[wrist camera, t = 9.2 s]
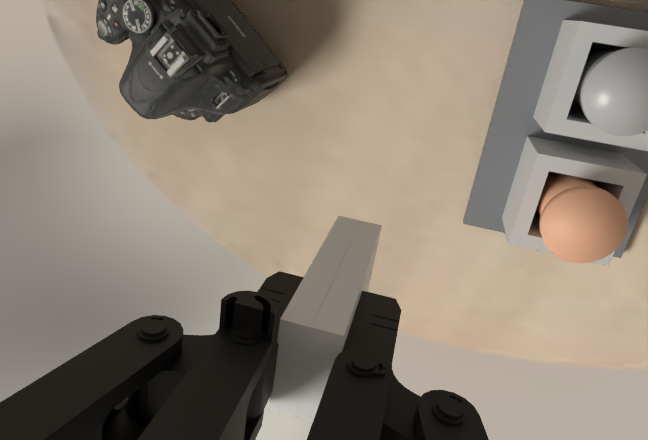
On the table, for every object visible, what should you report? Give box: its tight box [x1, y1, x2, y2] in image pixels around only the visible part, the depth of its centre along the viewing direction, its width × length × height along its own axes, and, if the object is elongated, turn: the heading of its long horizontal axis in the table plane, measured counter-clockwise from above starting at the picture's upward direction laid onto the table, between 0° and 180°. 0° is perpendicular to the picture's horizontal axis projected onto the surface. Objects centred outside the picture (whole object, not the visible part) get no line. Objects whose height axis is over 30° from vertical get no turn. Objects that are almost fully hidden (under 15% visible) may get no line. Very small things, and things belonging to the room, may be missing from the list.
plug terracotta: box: [537, 172, 628, 263], centre depth 34 cm, size 5×5×6 cm
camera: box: [96, 0, 287, 122], centre depth 37 cm, size 13×10×10 cm
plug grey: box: [573, 47, 648, 136], centre depth 31 cm, size 5×5×6 cm
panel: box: [463, 0, 648, 266], centre depth 35 cm, size 17×12×6 cm
